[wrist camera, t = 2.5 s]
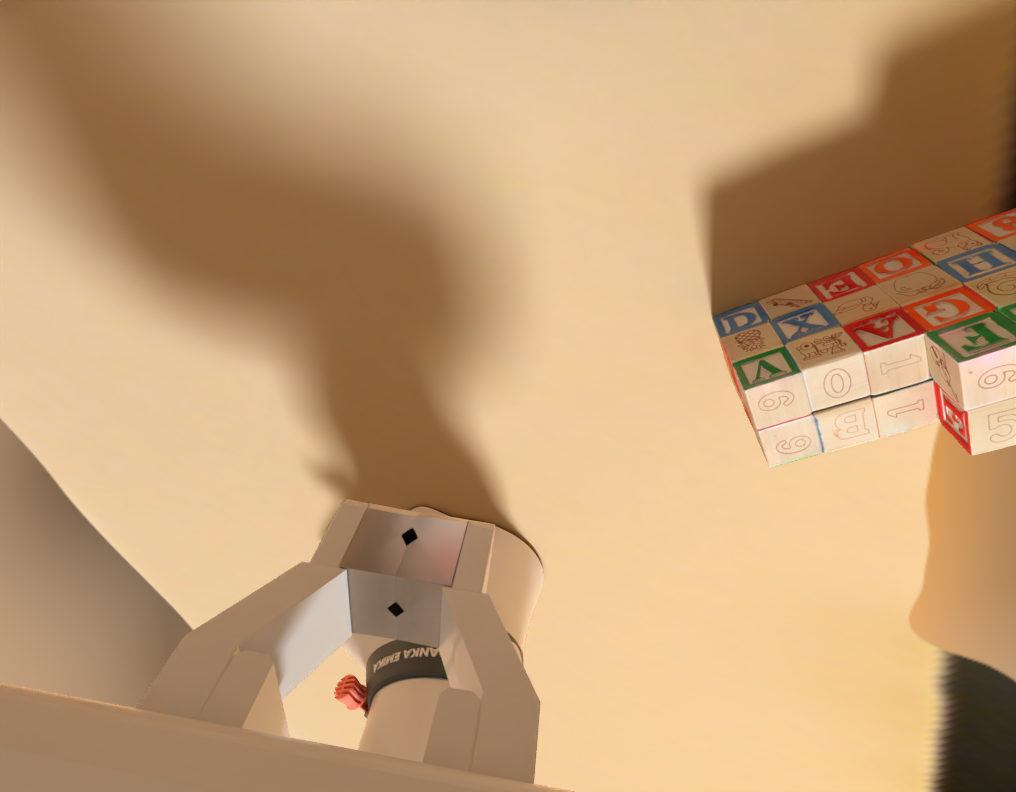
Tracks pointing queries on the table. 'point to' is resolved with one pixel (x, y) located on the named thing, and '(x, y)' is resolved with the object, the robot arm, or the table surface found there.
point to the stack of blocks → (885, 348)
